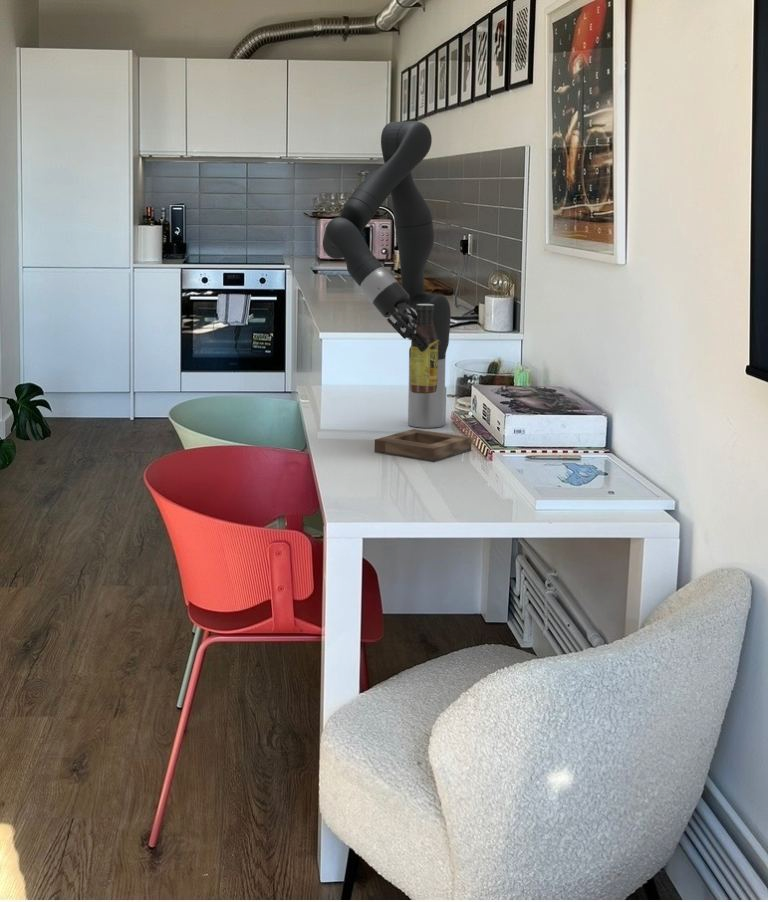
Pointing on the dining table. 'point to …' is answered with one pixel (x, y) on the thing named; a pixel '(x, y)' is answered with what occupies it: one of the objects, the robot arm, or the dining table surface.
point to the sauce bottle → (424, 353)
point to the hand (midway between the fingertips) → (431, 347)
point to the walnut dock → (423, 445)
